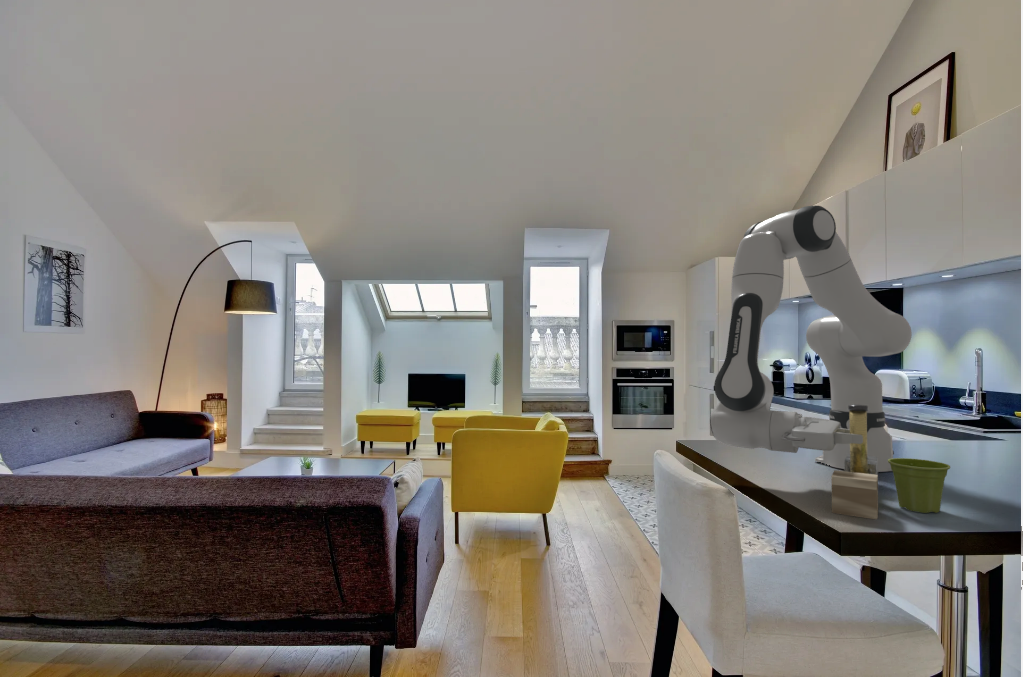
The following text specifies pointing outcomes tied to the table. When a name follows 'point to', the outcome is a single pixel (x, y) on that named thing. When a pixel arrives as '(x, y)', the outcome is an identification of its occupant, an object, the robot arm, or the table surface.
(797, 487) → the table surface
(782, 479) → the table surface
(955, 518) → the table surface
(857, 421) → the slip tube
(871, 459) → the sleeve
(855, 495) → the socket block
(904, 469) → the plant pot
